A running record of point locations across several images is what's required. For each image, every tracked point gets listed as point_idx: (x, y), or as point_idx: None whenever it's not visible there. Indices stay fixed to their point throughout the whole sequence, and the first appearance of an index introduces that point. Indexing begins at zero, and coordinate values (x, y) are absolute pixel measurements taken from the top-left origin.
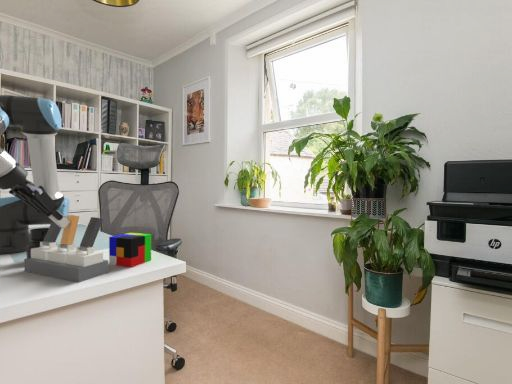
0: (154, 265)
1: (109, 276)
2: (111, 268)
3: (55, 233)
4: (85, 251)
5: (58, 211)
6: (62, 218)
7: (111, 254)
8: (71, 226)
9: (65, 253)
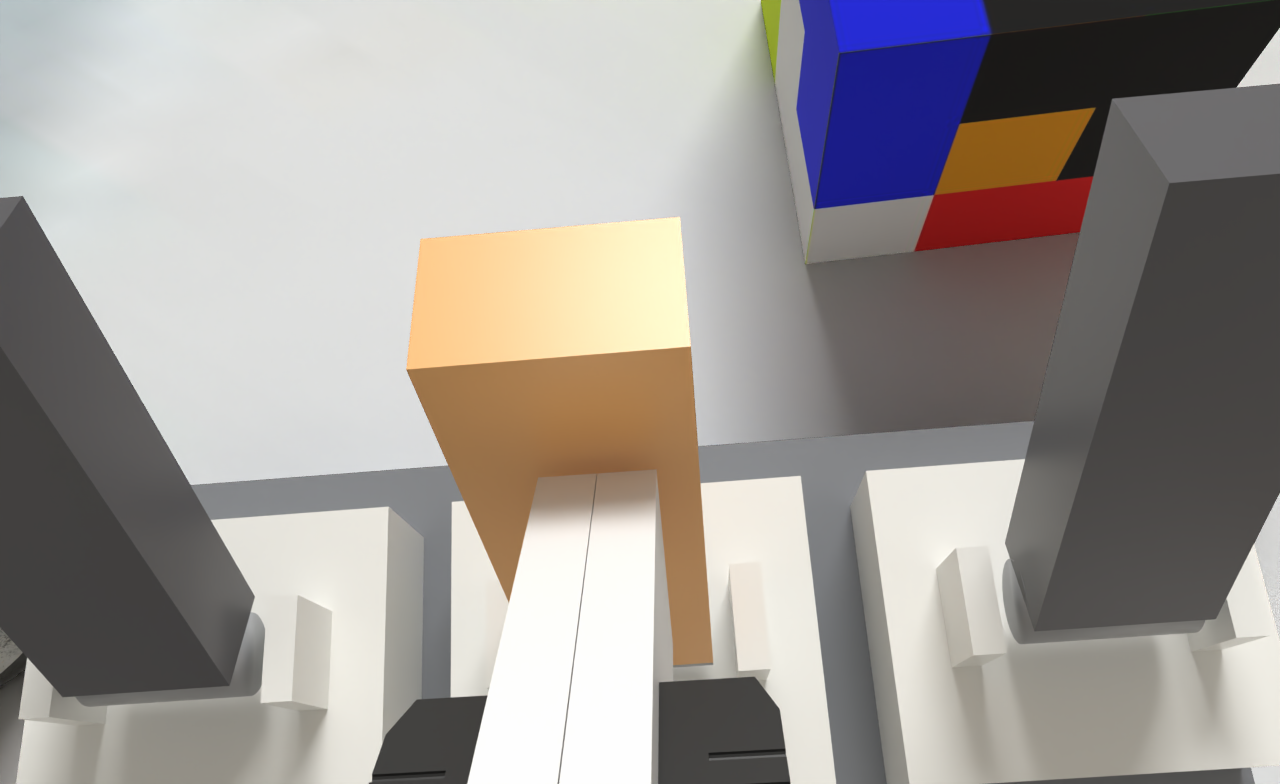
0: (1275, 65)
1: (1264, 542)
2: (979, 346)
3: (180, 548)
4: (952, 533)
5: (645, 770)
6: (661, 659)
7: (854, 197)
8: (699, 496)
9: (824, 761)
